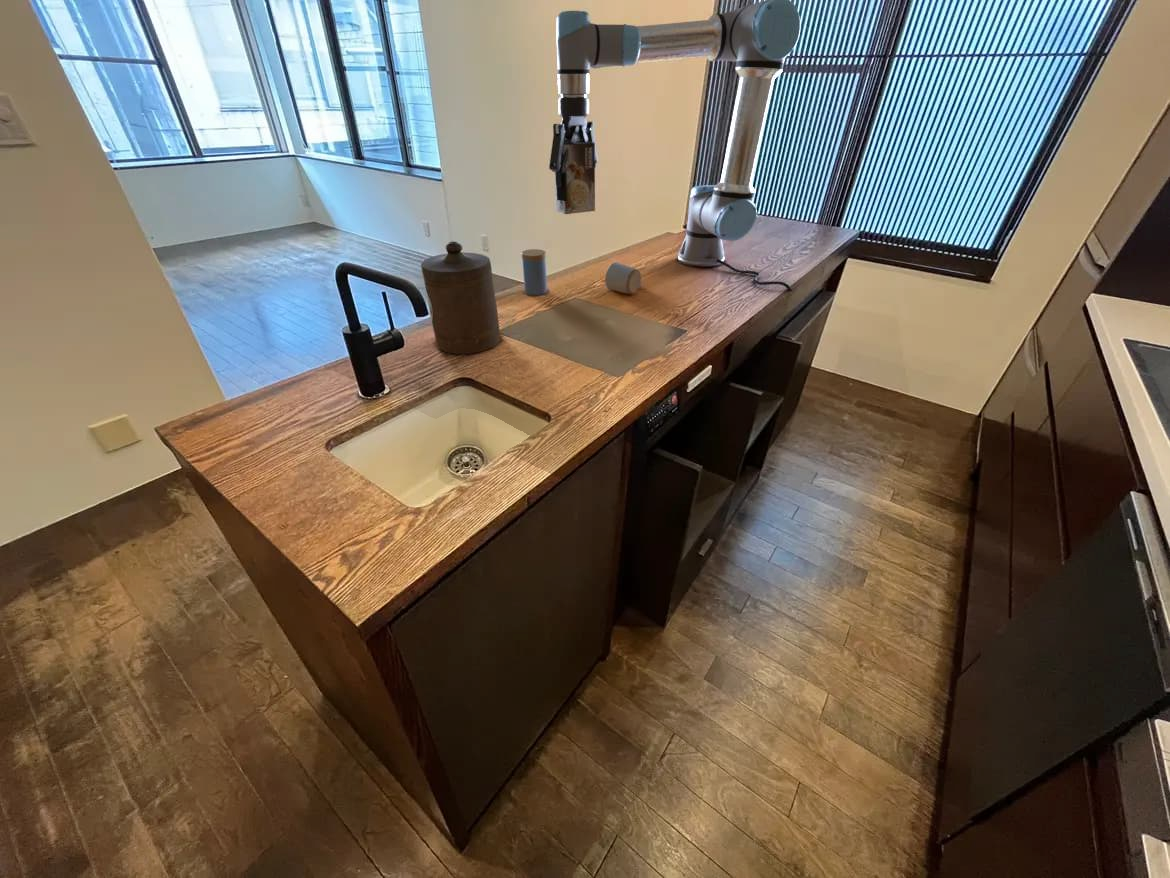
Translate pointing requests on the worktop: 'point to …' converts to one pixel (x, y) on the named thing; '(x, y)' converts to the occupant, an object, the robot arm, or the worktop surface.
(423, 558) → the worktop surface
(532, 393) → the worktop surface
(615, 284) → the ceramic mug
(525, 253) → the tea tin
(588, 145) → the coffee box
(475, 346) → the wooden container
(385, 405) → the worktop surface
